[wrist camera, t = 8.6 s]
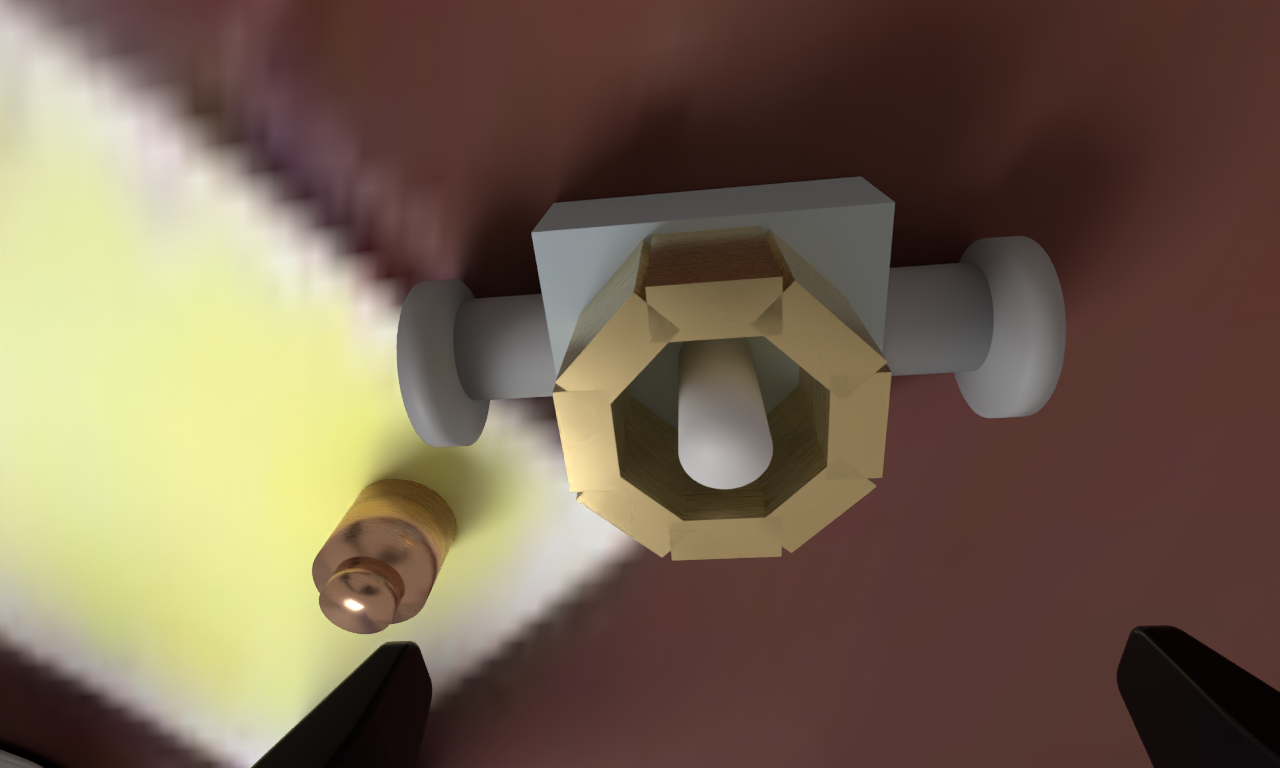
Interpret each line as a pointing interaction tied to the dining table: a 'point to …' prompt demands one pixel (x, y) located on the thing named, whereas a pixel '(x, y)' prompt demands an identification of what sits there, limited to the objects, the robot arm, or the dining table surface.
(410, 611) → the cap
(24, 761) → the chalice
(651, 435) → the nut
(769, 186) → the valve
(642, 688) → the dining table surface
